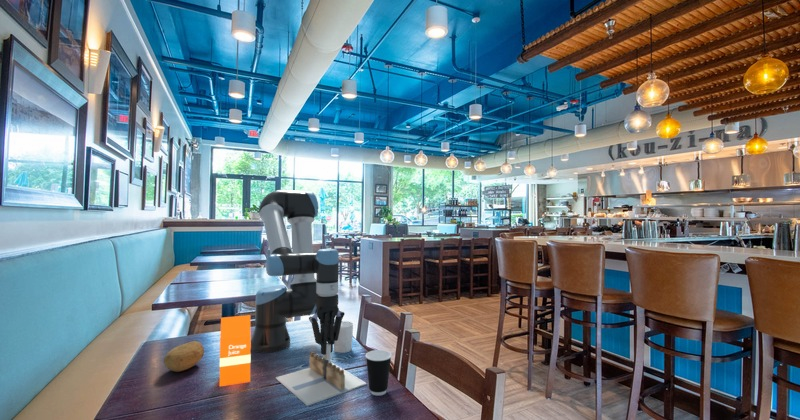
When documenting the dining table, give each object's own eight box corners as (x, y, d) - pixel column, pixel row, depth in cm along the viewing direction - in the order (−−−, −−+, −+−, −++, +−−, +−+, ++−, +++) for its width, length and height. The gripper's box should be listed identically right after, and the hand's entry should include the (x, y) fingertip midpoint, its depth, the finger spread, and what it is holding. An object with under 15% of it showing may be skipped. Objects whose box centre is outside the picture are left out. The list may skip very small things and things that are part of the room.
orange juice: (220, 376, 119) (221, 314, 119) (249, 372, 122) (250, 312, 123) (219, 386, 112) (220, 321, 112) (250, 381, 115) (251, 318, 116)
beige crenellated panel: (325, 375, 118) (326, 359, 119) (322, 376, 118) (322, 360, 118) (312, 366, 125) (312, 351, 125) (309, 367, 124) (309, 352, 125)
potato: (153, 376, 119) (154, 351, 119) (187, 359, 132) (187, 337, 132) (179, 379, 116) (179, 354, 117) (211, 362, 130) (211, 339, 130)
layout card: (275, 378, 118) (275, 377, 118) (330, 362, 131) (330, 361, 131) (307, 406, 101) (307, 404, 101) (366, 384, 114) (366, 383, 114)
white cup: (348, 354, 139) (349, 327, 139) (329, 352, 140) (329, 326, 140) (355, 347, 146) (355, 321, 146) (336, 345, 148) (337, 320, 148)
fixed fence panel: (323, 379, 117) (323, 360, 117) (326, 378, 118) (327, 359, 118) (340, 391, 109) (341, 371, 109) (344, 390, 110) (345, 370, 110)
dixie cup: (359, 391, 110) (359, 354, 110) (379, 383, 115) (380, 347, 115) (376, 401, 104) (376, 362, 104) (397, 392, 109) (397, 355, 109)
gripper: (315, 298, 119) (314, 371, 119) (349, 293, 128) (348, 361, 127) (304, 294, 125) (304, 364, 124) (337, 290, 133) (337, 355, 133)
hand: (326, 363), depth 126 cm, fingers closed
